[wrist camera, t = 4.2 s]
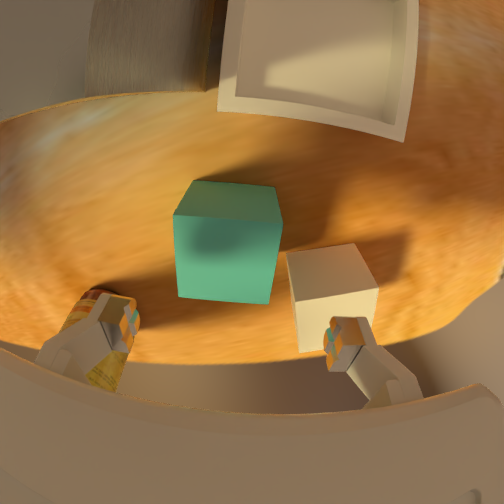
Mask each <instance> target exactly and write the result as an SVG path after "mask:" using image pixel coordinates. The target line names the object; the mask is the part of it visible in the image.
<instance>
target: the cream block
mask: <svg viewBox="0 0 504 504" xmlns="http://www.w3.org/2000/svg"><path fill="white" fill-rule="evenodd" d="M286 258H287V266H288V275H289V284H290V293H291V303H292V309H293V316H294V322H295V328H296V335H297V341H298V348H299V353H303V352H310V351H316V350H322V349H324V346H323V339H324V334H325V331H326V329H328V328H329V327H330V324H329V322H330V319H331V318H332V317H333V316H351V317H366V318H367V320H368V322H369V325H370V327H372V322H373V318H374V313H375V307H376V302H377V296H378V291H379V287H378V285H377V283H376V281H375V279H374V277H373V275H372V274H371V272H370V270H369V268H368V266H367V264H366V263H365V261H364V259H363V257H362V256H361V254H360V252H359V250H358V249H357V247H356V245H355V243H351V244H344V245H338V246H331V247H324V248H317V249H311V250H304V251H297V252H290V253H286Z"/></svg>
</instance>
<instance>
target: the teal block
mask: <svg viewBox="0 0 504 504" xmlns="http://www.w3.org/2000/svg"><path fill="white" fill-rule="evenodd" d="M173 229H174V248H175V262H176V275H177V287H178V297H183V298H193V299H203V300H214V301H226V302H239V303H252V304H269V299H270V294H271V288H272V283H273V278H274V273H275V267H276V262H277V256H278V251H279V245H280V240H281V234H282V229H283V220H282V216H281V211H280V207H279V203H278V198H277V194H276V190H275V187H271V186H261V185H251V184H239V183H227V182H213V181H196V180H193V181H192V183H191V185H190V186H189V188H188V190H187V191H186V193H185V195H184V197H183V198H182V200H181V202H180V203H179V205H178V207H177V209H176V210H175V212H174V214H173Z"/></svg>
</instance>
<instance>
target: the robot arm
mask: <svg viewBox="0 0 504 504" xmlns="http://www.w3.org/2000/svg"><path fill="white" fill-rule="evenodd" d="M136 306H137V303H136V300H135V299H134V298H130V297H125V296H119V295H114V294H108V293H102V294H101V295H100V296H99V298H98V300H97V301H96V303H95V305H94V306H93V308H92V310H91V311H90V313H89V315H88V317H87V319H86V318H83V319H81V320H80V321H78V322H76V323H75V324H73V325H71V326H70V327H68V328H67V329H65V330H63V331H62V332H60V333H59V334H57V335H55V336H54V337H52V338H51V339H49V340H47V341H46V342H45V343H44V345H43V346H42V348H41V350H40V352H39V354H38V356H37V357H36V359H35V361H34V363H31V362H29V361H27V360H24V359H22V358H20V357H18V356H16V355H14V354H12V353H10V352H8V351H6V350H4V349H3V348H1V347H0V504H504V408H503V405H502V403H501V401H500V400H499V398H498V397H497V396H496V395H495V394H493V393H492V392H491V391H490V390H489V389H488V388H487V387H485V386H484V385H482V384H480V383H479V384H478V383H477V384H473V385H470V386H467V387H464V388H461V389H457V390H454V391H451V392H447V393H444V394H440V395H437V396H432V397H428V398H423V396H422V393H421V390H420V387H419V384H418V382H417V379H416V376H415V375H414V374H413V373H412V372H410V371H409V370H408V369H407V368H405V366H404V365H402V364H401V363H400V362H399V361H398V360H397V359H396V358H394V357H393V356H392V355H391V354H390V353H389V352H388V351H386V350H385V349H384V348H383V347H382V346H381V345H377V343H376V341H375V338H374V335H373V333H372V330H371V327H370V325H369V322H368V320H367V318H366V317H351V316H333V317H332V318H331V319H330V322H329V324H330V327H329V328H328V329H326V331H325V334H324V339H323V346H324V351H325V352H326V353H327V354H328V356H327V358H326V361H327V367H328V371H347V373H348V375H349V376H350V377H351V378H352V379H353V381H354V382H355V383H356V384H357V385H358V387H359V388H360V389H361V390H362V392H363V393H364V394H365V395H366V397H367V398H368V399H369V400H370V401H369V402H368V403H367V404H366V405H365V406H364V407H363V408H362V410H355V411H345V412H332V413H316V414H252V413H236V412H235V413H234V412H223V411H213V410H204V409H197V408H189V407H183V406H176V405H170V404H165V403H159V402H155V401H150V400H145V399H140V398H136V397H132V396H127V395H123V394H120V393H116V392H112V391H109V390H105V389H102V388H98V387H95V386H92V385H91V383H90V382H89V380H88V379H87V377H86V376H85V375H86V374H87V373H88V372H89V371H90V370H91V369H92V368H94V367H95V366H96V365H97V364H98V363H99V362H100V361H101V360H103V359H104V358H105V357H106V356H107V355H108V354H109V353H111V352H112V350H114V351H119V352H124V353H130V351H131V348H132V346H133V343H134V340H133V336H134V335H136V334H137V332H138V330H139V325H140V316H139V312H138V311H137V310H136V309H135V308H136Z"/></svg>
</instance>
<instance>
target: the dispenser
mask: <svg viewBox="0 0 504 504" xmlns="http://www.w3.org/2000/svg"><path fill="white" fill-rule="evenodd" d="M214 6H215V0H0V123H2V122H5V121H8V120H11V119H14V118H17V117H21V116H24V115H27V114H31V113H35V112H38V111H42V110H46V109H50V108H54V107H59V106H63V105H68V104H73V103H78V102H84V101H90V100H96V99H102V98H109V97H117V96H125V95H135V94H147V93H164V92H205V89H206V77H207V66H208V55H209V46H210V37H211V28H212V20H213V13H214Z"/></svg>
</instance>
